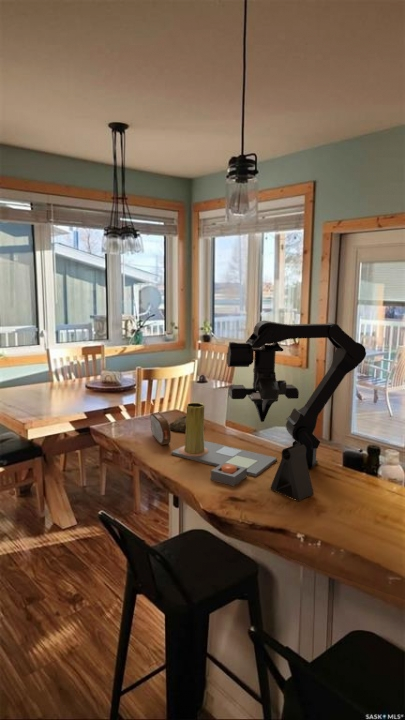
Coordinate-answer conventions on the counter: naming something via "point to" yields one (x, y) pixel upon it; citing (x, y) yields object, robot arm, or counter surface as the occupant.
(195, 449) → the vase
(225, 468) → the button
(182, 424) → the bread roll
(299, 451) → the phone stand
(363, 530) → the counter surface
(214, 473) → the button housing
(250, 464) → the picture board
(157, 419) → the tin
